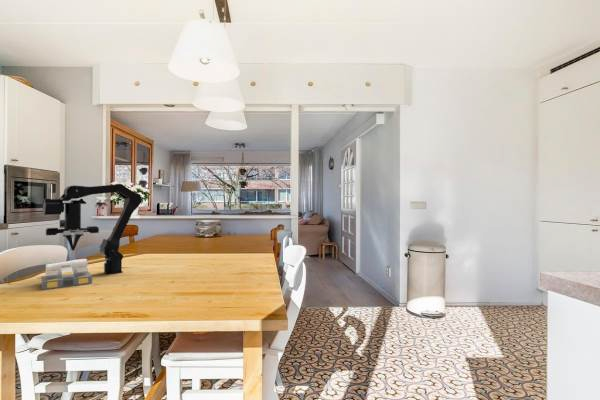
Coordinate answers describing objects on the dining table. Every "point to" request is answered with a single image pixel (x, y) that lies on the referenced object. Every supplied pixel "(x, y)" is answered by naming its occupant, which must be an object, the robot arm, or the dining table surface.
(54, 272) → the switch
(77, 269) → the switch
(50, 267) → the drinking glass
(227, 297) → the dining table surface
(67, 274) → the switch
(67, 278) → the pill organizer box
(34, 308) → the dining table surface
